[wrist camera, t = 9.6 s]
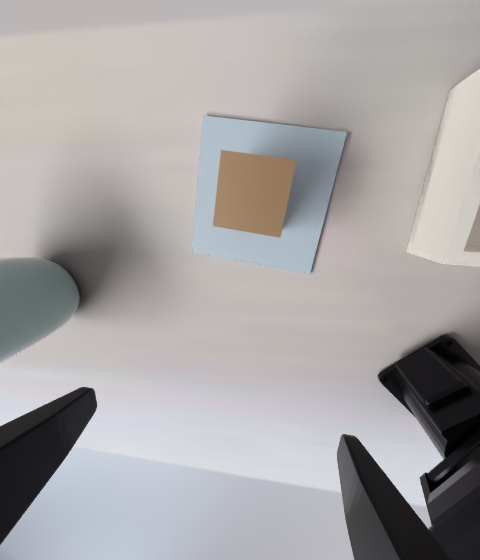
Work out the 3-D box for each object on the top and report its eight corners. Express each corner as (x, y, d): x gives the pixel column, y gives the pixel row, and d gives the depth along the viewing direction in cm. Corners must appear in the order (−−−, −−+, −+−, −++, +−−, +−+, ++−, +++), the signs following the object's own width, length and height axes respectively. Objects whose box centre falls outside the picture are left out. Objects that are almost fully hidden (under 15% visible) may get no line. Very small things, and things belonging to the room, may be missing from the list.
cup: (12, 267, 23) (-170, 305, 14) (63, 237, 21) (-109, 257, 12) (55, 330, 25) (-83, 403, 15) (107, 308, 23) (-15, 376, 13)
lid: (343, 135, 16) (378, 95, 10) (308, 271, 19) (320, 296, 13) (206, 119, 17) (170, 75, 11) (194, 250, 20) (162, 265, 14)
